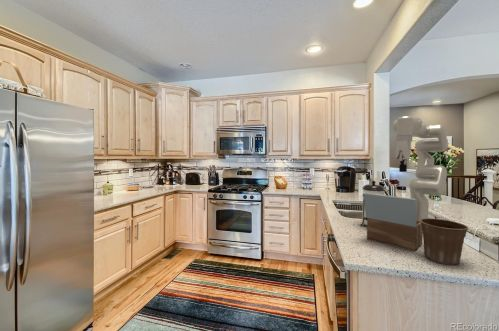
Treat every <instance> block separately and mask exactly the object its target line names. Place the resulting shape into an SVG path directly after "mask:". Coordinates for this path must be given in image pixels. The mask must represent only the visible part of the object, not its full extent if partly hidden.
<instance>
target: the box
mask: <svg viewBox="0 0 499 331" xmlns="http://www.w3.org/2000/svg"><path fill="white" fill-rule="evenodd" d="M366 240H369V241H373V242H375V243H380V244H385V245H389V246H392V247H396V248H400V249H404V250H408V251H411V252H416V251H417V250H418V249H419V248H420V247H422V246H423V230H422V225H421V222H420V221H417V227H413V226H408V225H402V224H397V223H392V222H387V221H382V220H376V219H371V218H367V225H366Z"/></svg>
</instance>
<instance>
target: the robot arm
mask: <svg viewBox="0 0 499 331" xmlns="http://www.w3.org/2000/svg"><path fill="white" fill-rule="evenodd" d="M391 126H392V130H393V131H394V132H395V133H396V135H395V137H396V138H395V141H396V149H395V159H396V160H398V161H399V167H398V168H399V170H398V171H399V172H400V173H407V172H408V171H407V170H408V160H410V158H411V142H413V137H417V138H419V140H417V141H416V142H415V144H414V145H415V146H414V148H415V152H416V155H417V158H418V161H417V165H416V168H415V176H416V178H415V179H414V178H413V179H412V180H411V181H410V182H409V185H408V186H409V192H410V194H409V195H410V198H412V199H416V215H417V221H420V220H421V219H425V218H429V208H430V206H429V199H428V198H427V196H426V195H429V196H436V197H437V196H438V197H439V196H442V195H443V194H444V191H445V187H446V182H447V176H448V170H447V168H446V167H445V166H444V165H440V164H439V165H437V164H435V158H434V157H433V156H432V155H431V154H430V153H439V152H440V153H441V152H446V151H447V150H448V148H449V142H448V137H447V132H446V130H445V127H444V125H442V124H440V123H436V124H426V123H424V122H423V120H422V119H421V118H420V117H413V116H410V115H407V116H399V117H397V119H395V120H393V123H392V125H391Z"/></svg>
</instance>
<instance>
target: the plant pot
mask: <svg viewBox="0 0 499 331" xmlns="http://www.w3.org/2000/svg"><path fill="white" fill-rule="evenodd" d="M420 222H421V225H422V230H423V238H422V242H423V254H424V257H425V258H427V259H430V261H431V262H435V263H439V264H441V263H442V264H441V265H450V266H453V265H459V264H460V262H461V257H462V252H463V246H464V241H465V238H466V236H467V230H468V229H469V226H468V225H466V224H463V223H460V222H457V221H453V220H452V221H451V220H448V219H447V220H446V219H441V218H440V219H439V218H430V217H428V218H425V219H421V220H420Z"/></svg>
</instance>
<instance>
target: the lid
mask: <svg viewBox="0 0 499 331" xmlns="http://www.w3.org/2000/svg"><path fill="white" fill-rule="evenodd" d="M364 202H365V213H366V218H371V219H376V220H382V221H387V222H392V223H397V224H402V225H408V226H413V227H417V215H416V199H412V198H411V197H404V196H403V197H401V196H393V195H385V194H384V195H378V194H369V193H364Z"/></svg>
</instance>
